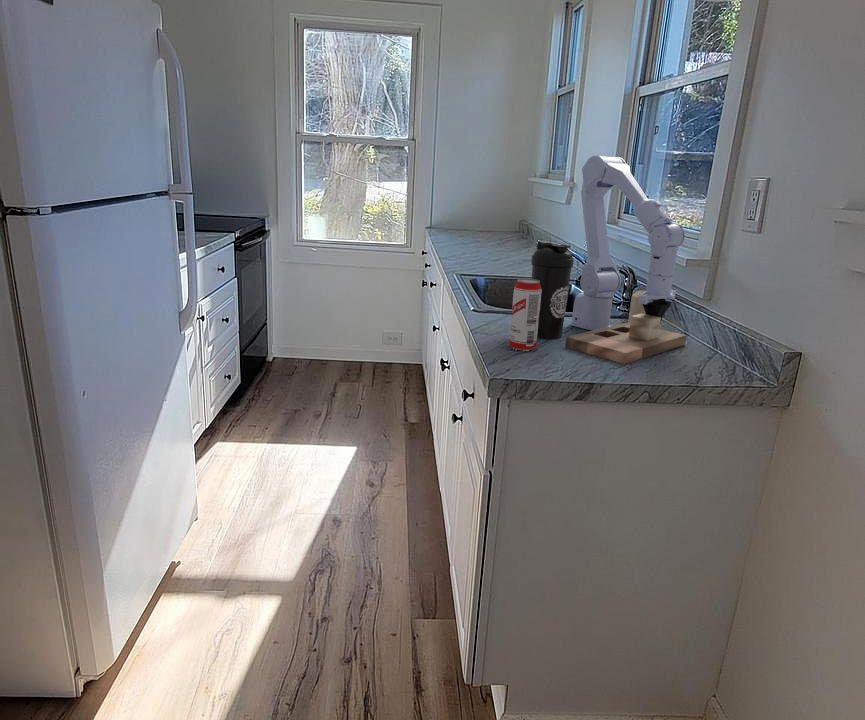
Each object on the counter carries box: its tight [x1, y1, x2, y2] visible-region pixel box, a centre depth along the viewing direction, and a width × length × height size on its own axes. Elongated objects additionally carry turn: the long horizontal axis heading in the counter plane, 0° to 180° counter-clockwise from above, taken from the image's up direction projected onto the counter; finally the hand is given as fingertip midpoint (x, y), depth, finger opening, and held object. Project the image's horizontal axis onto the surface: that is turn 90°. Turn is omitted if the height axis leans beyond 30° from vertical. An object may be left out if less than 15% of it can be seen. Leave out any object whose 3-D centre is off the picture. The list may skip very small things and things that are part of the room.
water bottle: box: [530, 241, 575, 340], centre depth 162 cm, size 10×10×23 cm
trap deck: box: [565, 321, 687, 365], centre depth 158 cm, size 16×28×2 cm, turn 133°
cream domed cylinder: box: [627, 289, 646, 322], centre depth 177 cm, size 6×6×10 cm
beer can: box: [508, 278, 542, 351], centre depth 149 cm, size 6×6×16 cm
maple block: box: [629, 314, 662, 341], centre depth 157 cm, size 5×5×5 cm
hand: (652, 329), depth 160 cm, fingers closed
